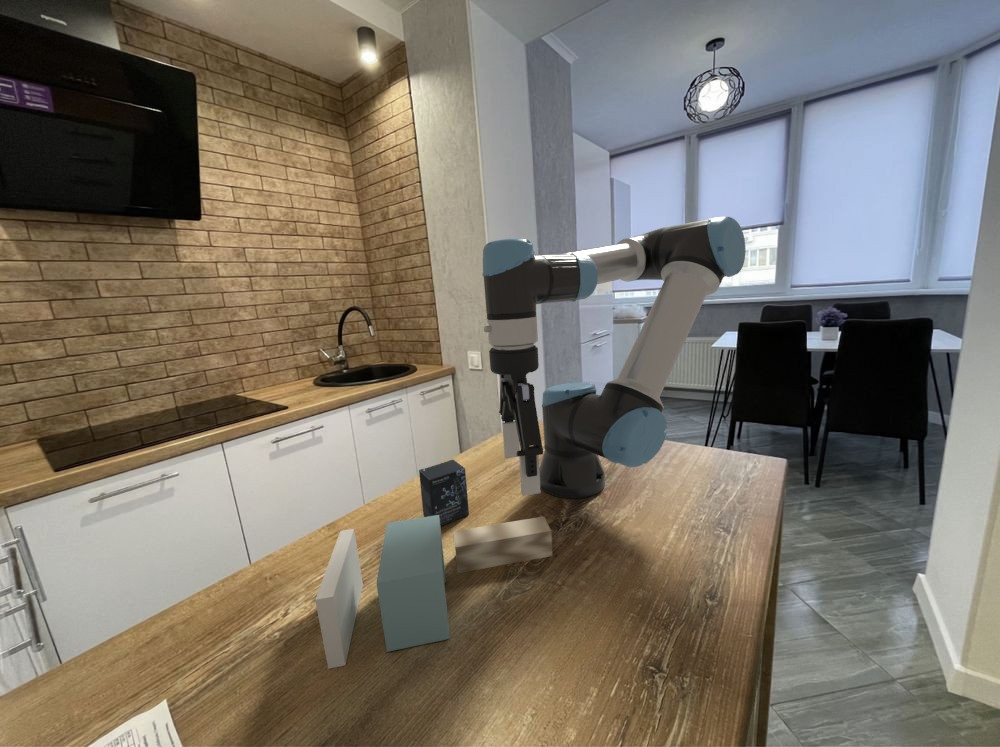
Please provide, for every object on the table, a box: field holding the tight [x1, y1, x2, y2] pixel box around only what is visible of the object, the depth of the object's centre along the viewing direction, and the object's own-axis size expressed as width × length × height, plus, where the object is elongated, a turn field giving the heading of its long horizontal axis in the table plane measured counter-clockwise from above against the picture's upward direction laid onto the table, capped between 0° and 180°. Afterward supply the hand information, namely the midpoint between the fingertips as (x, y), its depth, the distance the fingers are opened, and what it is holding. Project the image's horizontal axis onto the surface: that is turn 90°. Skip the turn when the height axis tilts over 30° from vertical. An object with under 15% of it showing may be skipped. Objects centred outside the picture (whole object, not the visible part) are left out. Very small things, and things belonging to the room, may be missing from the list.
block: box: [376, 515, 451, 653], centre depth 56 cm, size 8×13×10 cm, turn 10°
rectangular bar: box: [453, 516, 553, 574], centre depth 66 cm, size 16×4×5 cm, turn 100°
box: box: [418, 459, 470, 527], centre depth 79 cm, size 8×6×11 cm
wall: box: [314, 528, 364, 670], centre depth 54 cm, size 2×14×10 cm, turn 10°
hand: (520, 473), depth 65 cm, fingers open, 13 cm apart
